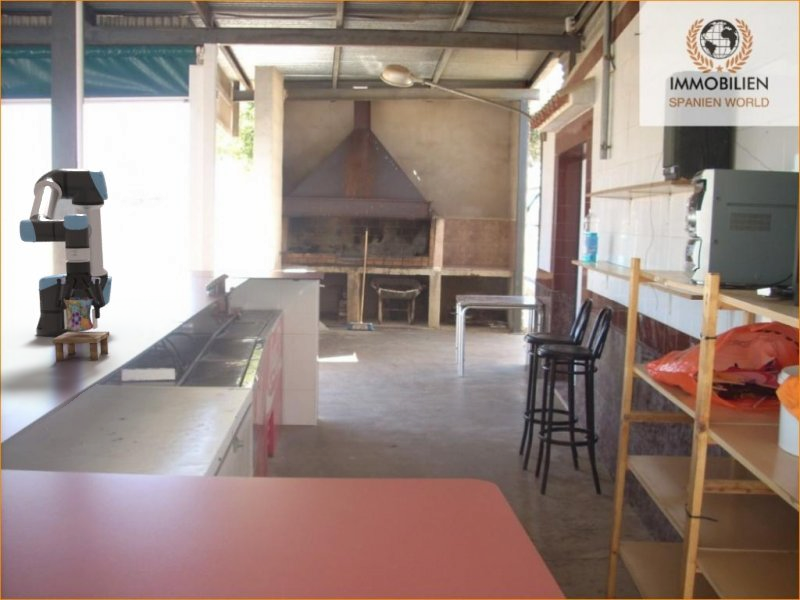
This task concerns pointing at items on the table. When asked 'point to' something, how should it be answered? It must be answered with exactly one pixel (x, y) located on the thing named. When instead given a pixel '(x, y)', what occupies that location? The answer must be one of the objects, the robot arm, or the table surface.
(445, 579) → the table surface
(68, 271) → the robot arm
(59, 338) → the stool
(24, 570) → the table surface
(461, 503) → the table surface
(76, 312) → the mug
